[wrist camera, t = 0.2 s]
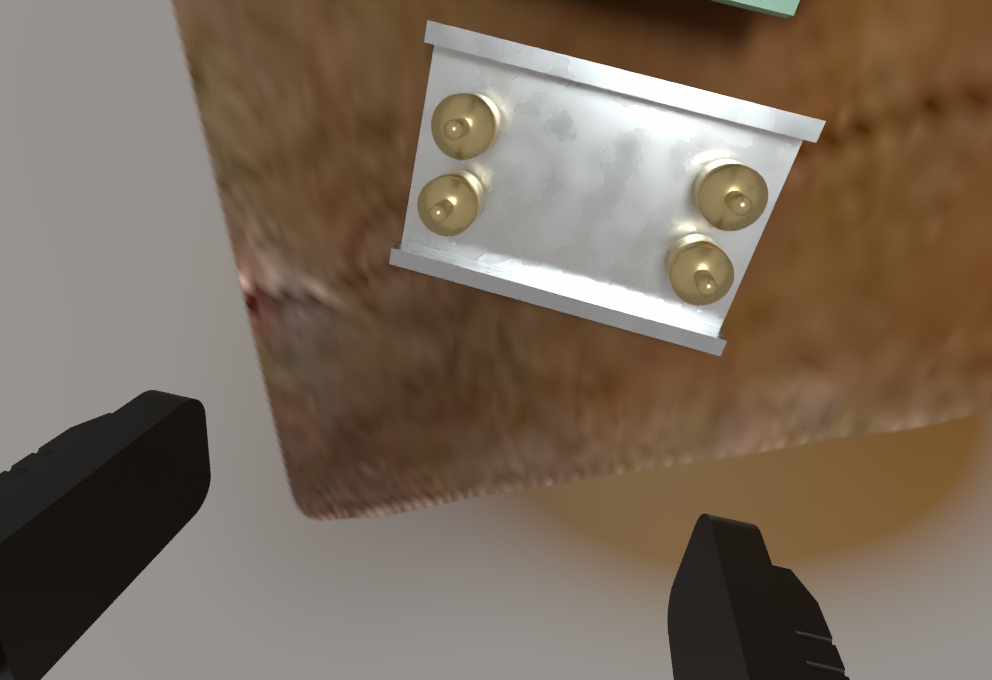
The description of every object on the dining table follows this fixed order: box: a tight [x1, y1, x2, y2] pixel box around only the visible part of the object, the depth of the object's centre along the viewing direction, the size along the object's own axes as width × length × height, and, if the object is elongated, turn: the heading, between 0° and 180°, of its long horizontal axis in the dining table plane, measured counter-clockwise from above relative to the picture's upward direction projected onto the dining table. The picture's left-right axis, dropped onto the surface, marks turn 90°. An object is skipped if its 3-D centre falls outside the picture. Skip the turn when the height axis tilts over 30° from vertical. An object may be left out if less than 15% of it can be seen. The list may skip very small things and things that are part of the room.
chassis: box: [389, 20, 826, 356], centre depth 31 cm, size 13×20×6 cm, turn 76°
